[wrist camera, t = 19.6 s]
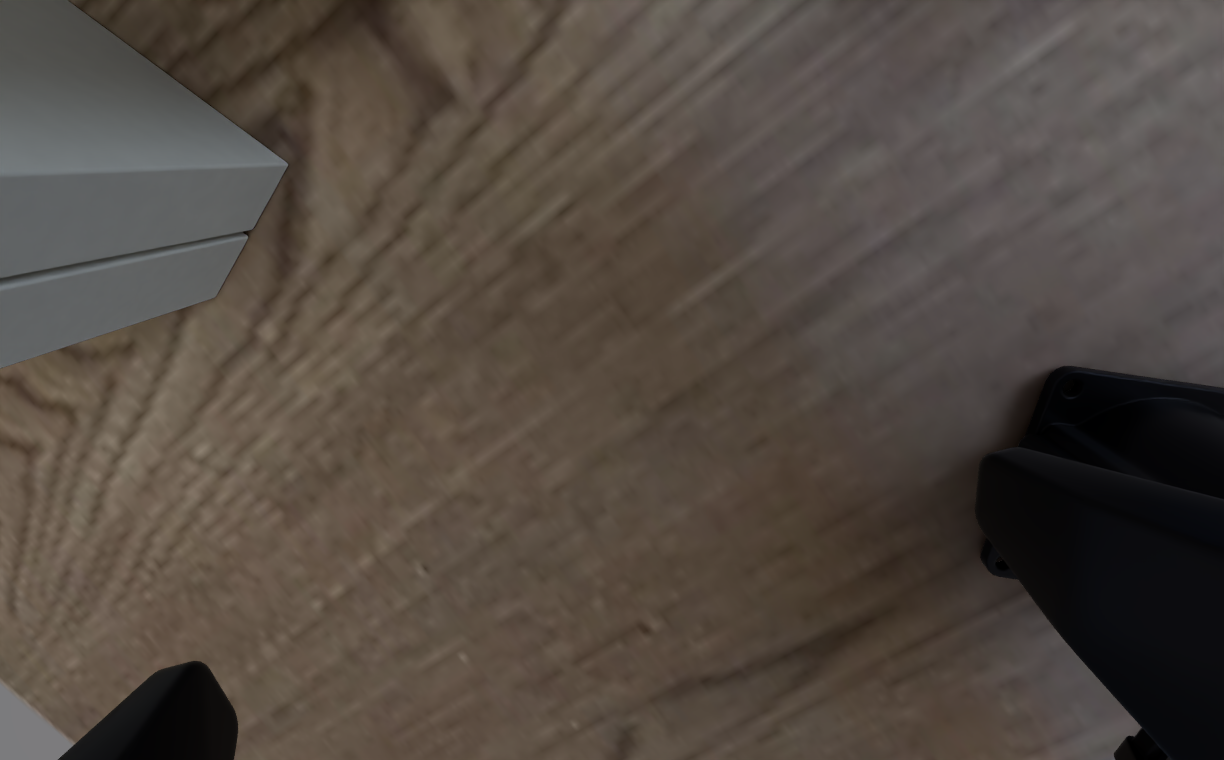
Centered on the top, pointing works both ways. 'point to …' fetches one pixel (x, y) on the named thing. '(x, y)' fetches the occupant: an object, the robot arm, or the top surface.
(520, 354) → the top surface
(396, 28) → the top surface
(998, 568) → the robot arm
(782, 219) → the top surface
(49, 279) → the white books
